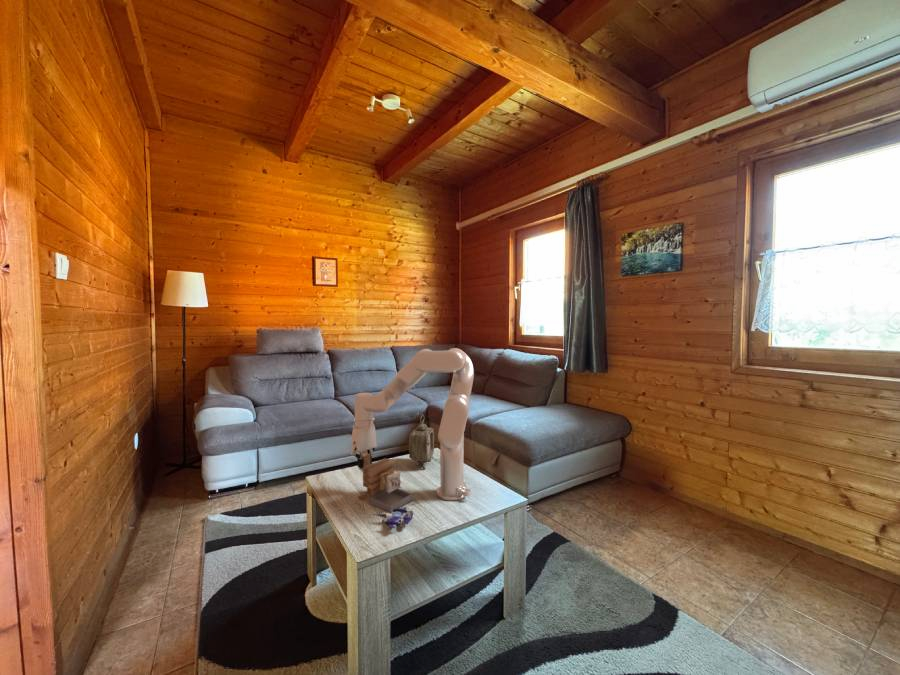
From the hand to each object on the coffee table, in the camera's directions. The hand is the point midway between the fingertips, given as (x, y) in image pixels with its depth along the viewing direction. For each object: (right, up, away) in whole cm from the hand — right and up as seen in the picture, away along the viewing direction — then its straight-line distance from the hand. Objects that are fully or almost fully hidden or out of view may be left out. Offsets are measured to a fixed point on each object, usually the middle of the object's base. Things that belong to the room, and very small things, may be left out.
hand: (364, 465), depth 152 cm
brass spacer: (+11, -6, -8) cm, 15 cm away
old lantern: (+22, -10, +28) cm, 37 cm away
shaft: (+7, -3, -5) cm, 10 cm away
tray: (+13, -11, -9) cm, 19 cm away
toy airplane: (+16, -12, -24) cm, 31 cm away
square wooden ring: (+14, -6, -10) cm, 18 cm away
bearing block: (+5, -11, -4) cm, 13 cm away
